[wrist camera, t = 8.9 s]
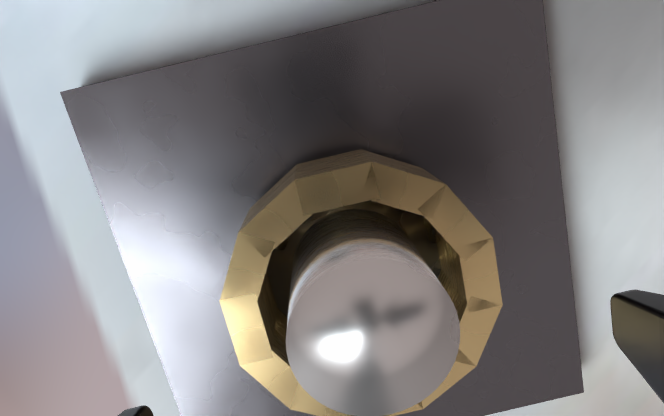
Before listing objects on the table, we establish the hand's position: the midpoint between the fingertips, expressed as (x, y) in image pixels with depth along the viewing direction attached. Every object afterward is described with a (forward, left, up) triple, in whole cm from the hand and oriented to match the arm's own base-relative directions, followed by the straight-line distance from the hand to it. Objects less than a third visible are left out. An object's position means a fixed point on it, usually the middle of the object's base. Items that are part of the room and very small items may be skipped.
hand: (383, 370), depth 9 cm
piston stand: (0, 0, -7) cm, 7 cm away
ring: (0, 0, -6) cm, 6 cm away
